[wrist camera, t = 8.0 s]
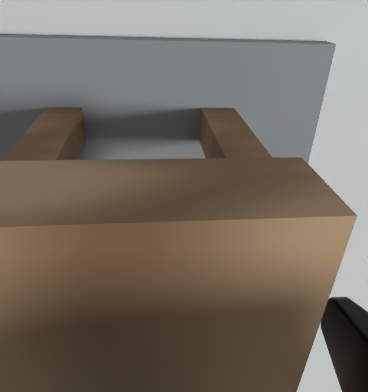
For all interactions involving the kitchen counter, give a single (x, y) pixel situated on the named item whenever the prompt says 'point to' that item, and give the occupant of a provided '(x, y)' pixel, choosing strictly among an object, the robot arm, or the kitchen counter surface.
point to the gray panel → (163, 90)
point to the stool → (162, 263)
